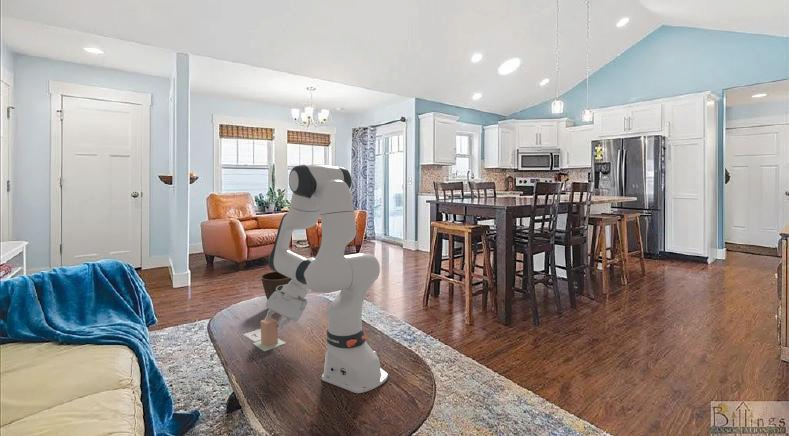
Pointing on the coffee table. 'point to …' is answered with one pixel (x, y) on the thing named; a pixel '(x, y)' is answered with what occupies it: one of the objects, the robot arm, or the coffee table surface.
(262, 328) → the block
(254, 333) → the tile
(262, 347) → the coaster
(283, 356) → the coffee table surface
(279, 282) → the plant pot
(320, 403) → the coffee table surface
